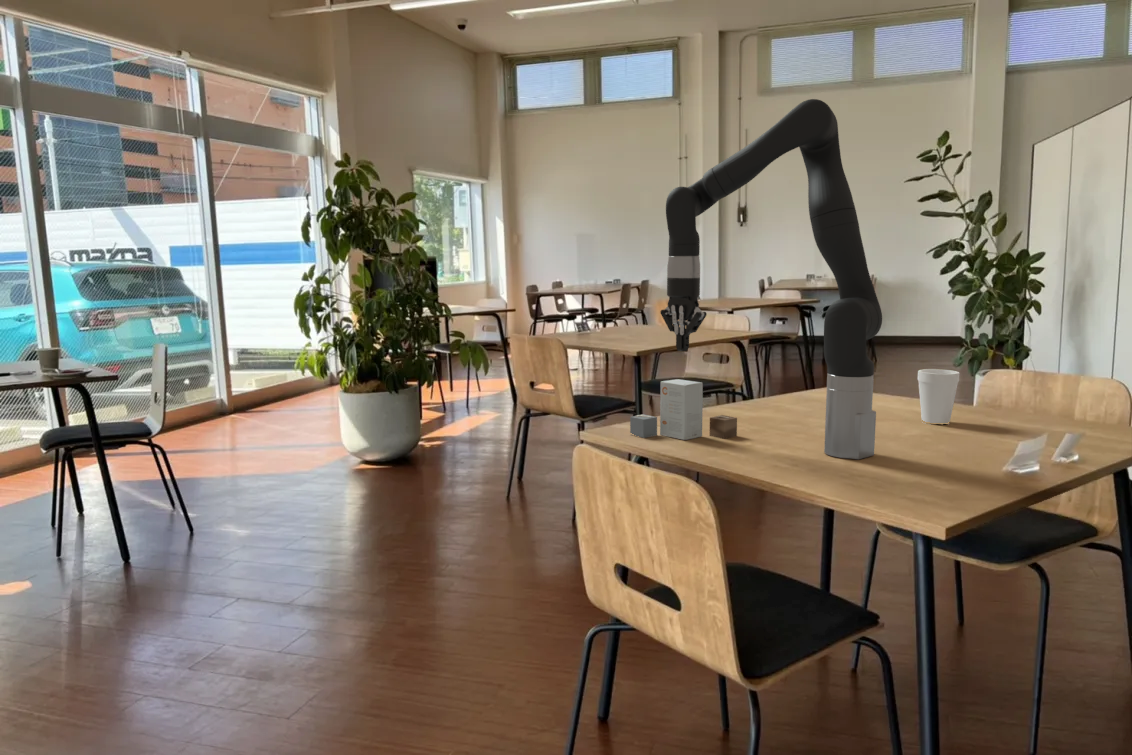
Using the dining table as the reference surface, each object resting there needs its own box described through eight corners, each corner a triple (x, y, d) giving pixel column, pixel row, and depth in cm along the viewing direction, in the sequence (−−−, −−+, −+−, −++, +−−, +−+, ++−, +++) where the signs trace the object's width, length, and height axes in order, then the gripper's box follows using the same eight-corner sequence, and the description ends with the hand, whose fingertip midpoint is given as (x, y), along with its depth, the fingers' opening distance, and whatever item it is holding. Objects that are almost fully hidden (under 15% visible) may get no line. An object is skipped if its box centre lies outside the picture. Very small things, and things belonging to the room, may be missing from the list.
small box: (702, 436, 190) (703, 382, 188) (684, 440, 186) (685, 385, 184) (677, 431, 196) (678, 378, 194) (659, 435, 192) (659, 381, 190)
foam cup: (961, 426, 198) (964, 374, 196) (921, 426, 200) (924, 374, 198) (949, 419, 208) (952, 369, 206) (911, 418, 209) (914, 368, 207)
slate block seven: (657, 435, 192) (657, 416, 192) (643, 438, 189) (643, 418, 189) (643, 432, 196) (643, 413, 195) (630, 435, 193) (630, 416, 192)
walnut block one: (736, 436, 191) (737, 416, 190) (724, 439, 188) (724, 419, 187) (721, 433, 194) (722, 414, 193) (709, 436, 191) (709, 416, 191)
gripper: (716, 276, 183) (714, 352, 186) (674, 275, 193) (673, 347, 196) (693, 277, 178) (692, 354, 181) (651, 275, 189) (650, 349, 191)
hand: (682, 350), depth 188 cm, fingers closed
